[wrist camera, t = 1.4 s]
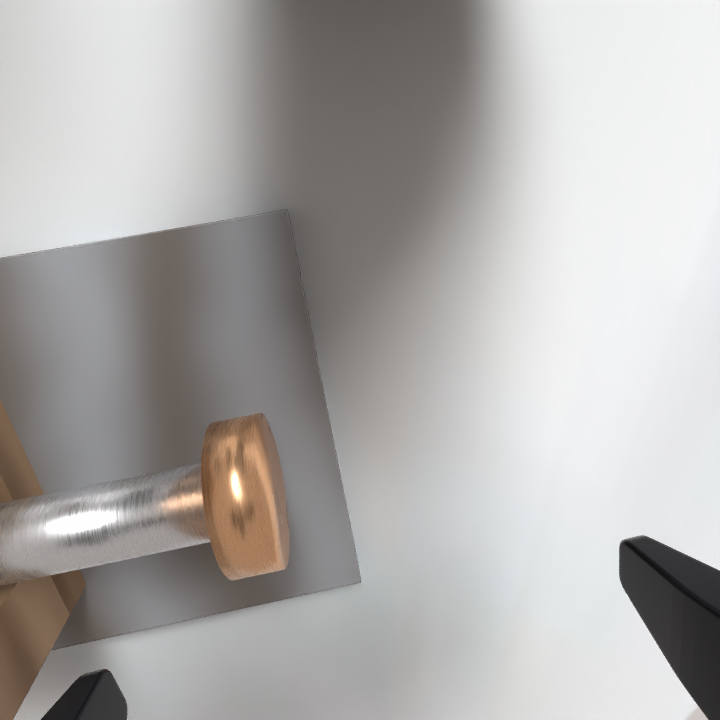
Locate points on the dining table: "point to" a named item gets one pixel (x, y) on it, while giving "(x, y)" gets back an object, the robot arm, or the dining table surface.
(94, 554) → the shaft
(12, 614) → the wooden block on base
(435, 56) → the dining table surface
